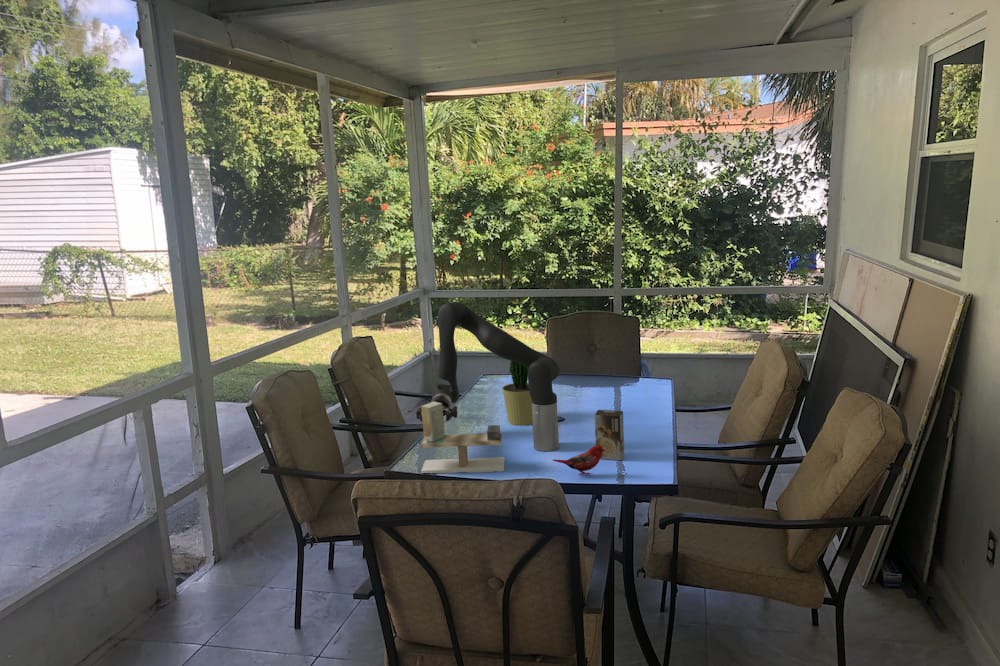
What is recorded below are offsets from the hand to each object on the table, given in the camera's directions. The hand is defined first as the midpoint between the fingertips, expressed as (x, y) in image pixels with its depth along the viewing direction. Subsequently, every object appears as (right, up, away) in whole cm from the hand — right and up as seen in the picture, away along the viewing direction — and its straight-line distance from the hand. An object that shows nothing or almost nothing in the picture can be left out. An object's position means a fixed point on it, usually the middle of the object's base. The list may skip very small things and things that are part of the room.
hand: (434, 419), depth 229 cm
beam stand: (+10, -17, +2) cm, 20 cm away
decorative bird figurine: (+48, -17, -10) cm, 52 cm away
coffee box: (+61, -14, +5) cm, 63 cm away
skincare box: (0, -7, +1) cm, 7 cm away
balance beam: (+9, -8, +1) cm, 12 cm away
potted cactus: (+32, -8, +50) cm, 59 cm away
